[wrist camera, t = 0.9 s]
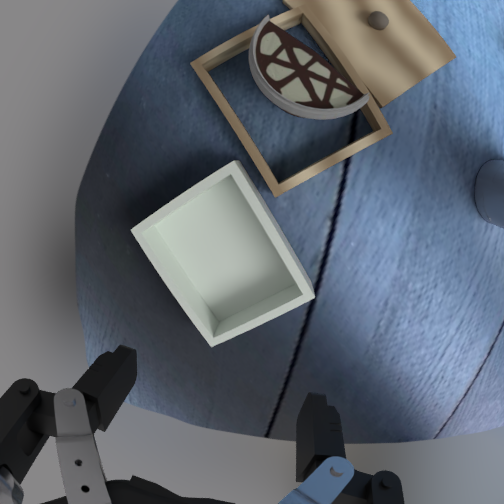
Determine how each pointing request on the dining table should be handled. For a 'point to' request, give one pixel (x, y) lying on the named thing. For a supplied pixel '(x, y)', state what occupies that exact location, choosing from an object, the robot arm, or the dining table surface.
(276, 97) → the food container
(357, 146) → the bin frame
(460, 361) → the dining table surface
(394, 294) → the dining table surface
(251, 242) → the bin
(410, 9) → the bin lid
